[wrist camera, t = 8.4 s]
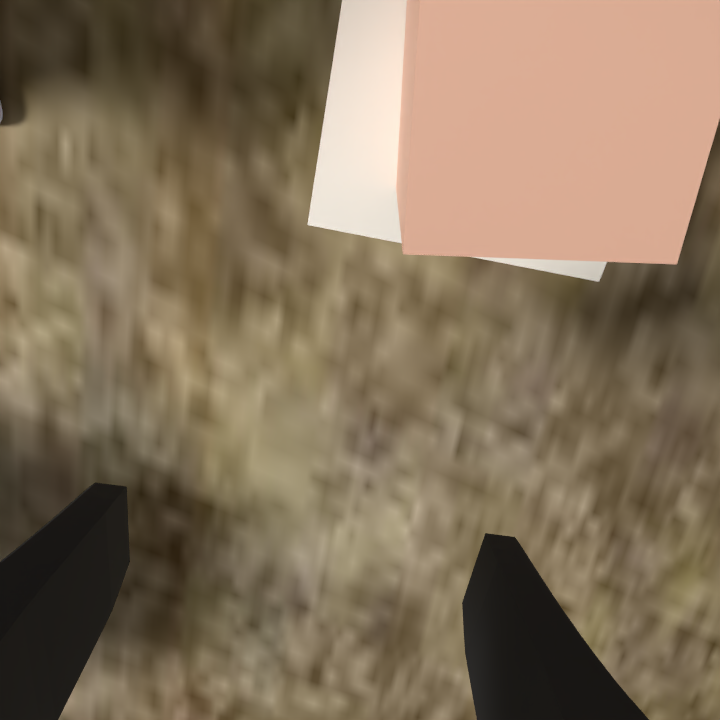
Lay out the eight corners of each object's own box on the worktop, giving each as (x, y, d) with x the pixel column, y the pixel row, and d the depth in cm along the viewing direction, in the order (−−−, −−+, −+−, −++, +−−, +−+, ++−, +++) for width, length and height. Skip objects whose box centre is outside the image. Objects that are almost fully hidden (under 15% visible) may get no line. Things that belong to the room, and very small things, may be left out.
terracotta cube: (395, 188, 16) (403, 254, 11) (409, -47, 13) (425, -79, 9) (593, 195, 16) (677, 264, 11) (642, -39, 13) (773, -67, 9)
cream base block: (320, 189, 20) (307, 224, 16) (369, -118, 16) (366, -159, 12) (560, 237, 20) (599, 281, 17) (663, -49, 16) (740, -70, 13)
